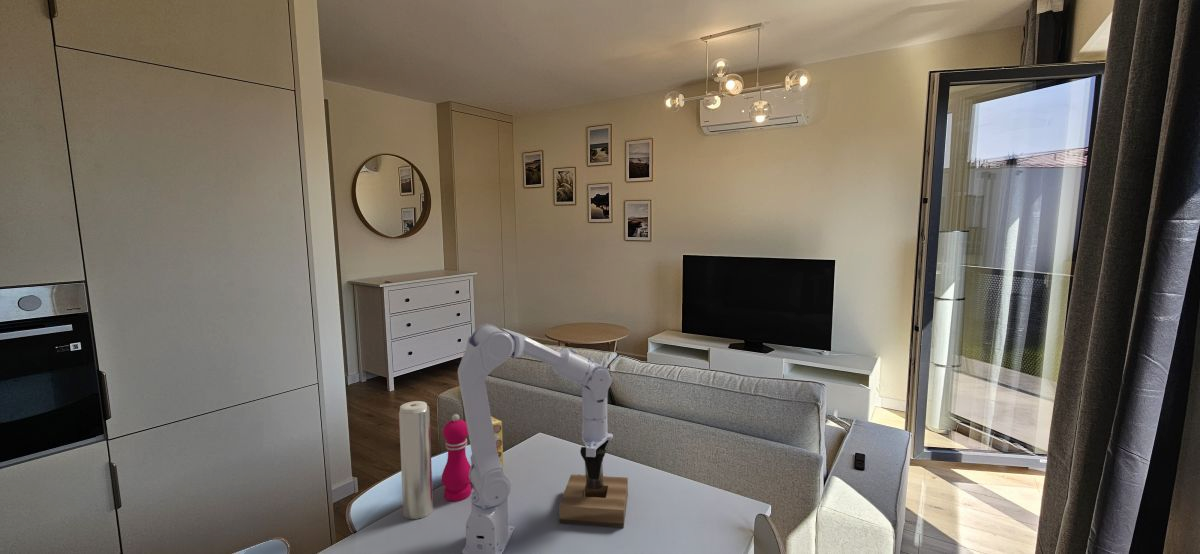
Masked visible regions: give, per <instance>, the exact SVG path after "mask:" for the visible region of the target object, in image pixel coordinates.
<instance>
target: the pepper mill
mask: <svg viewBox="0 0 1200 554" xmlns="http://www.w3.org/2000/svg"><path fill="white" fill-rule="evenodd" d="M442 435H443V438H444V439H445V448H446V449H447V459H446V460H447V461H446V464H445V466H444V468H443V471H442V474H441V483H442V485H443V486H444V490H443V491H444V492H443V493H444V495H443V496H444V498H445V500H447V501H450V502H459V501H462V500H466V499H467V498H468V497H470V496H471V495H472V483H471V481H470V479H469V471H470V468H471V464H470V463H469V461H468V457H467V454H466V453H467V452H466V447H467V446H468V439H467V437H469V434H468V429H467V423H466V420H463V419H460V415H459V414H458V413H455V414H453V415H452V416H451V420H450V421H448V422H447V423H446V424H445V425H444V427H443V430H442Z"/></svg>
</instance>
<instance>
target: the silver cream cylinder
mask: <svg viewBox="0 0 1200 554" xmlns="http://www.w3.org/2000/svg"><path fill="white" fill-rule="evenodd" d="M430 412H431V411H430V405H428V404H427V402H425V401H421V400H420V401H419V400H414V401H409V402H406V403H403V404H401V405H400V406H399V412H398V418H399V421H398V422H399V443H400V445H399V446H400V467H401V469H400V470H401V471H400V472H401V474H400V475H401V492H402V493H401V494H402V495H401V496H402V516H403V517H404V518H405V519H407V520H418V519H419V518H420V519H423V518H426V517H427V516H429V515H430V514H431V513H432V512H433V511H434V500H433V498H434V497H433V475H432V473H433V472H432V446H431V444H432V443H431V417H430V416H431V415H430ZM420 519H419V520H420Z"/></svg>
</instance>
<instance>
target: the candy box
mask: <svg viewBox="0 0 1200 554" xmlns="http://www.w3.org/2000/svg"><path fill="white" fill-rule="evenodd" d="M491 419H492V425H493V430H494V436H495V442H496V448H497V453H498V456H499V459H500V462H501V465H502V468H503V469H504V451H503V450H504V448H503V446H504V444H503V421H501V420H500V419H497V418H496V417H494V416H492V415H491ZM504 472H505V471H503V473H504ZM504 474H505V473H504Z"/></svg>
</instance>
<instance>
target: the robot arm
mask: <svg viewBox="0 0 1200 554" xmlns="http://www.w3.org/2000/svg"><path fill="white" fill-rule="evenodd" d="M523 355H525V356H528V357H530V358H533V359H535V360H537V361H541V362H543V363H545V364H548V365H551V367H552V371H553V372H554V373H555V374H556V375H557V376H561V377H562V378H565V379H567V380H569V381H571V382H574V383H576V384H579V385H581V391H582V392H581V396H582V397H581V403H582V404H581V406H582V407H581V409H582V410H581V412H582V415H581V416H582V417H581V418H582V421H581V423H582V428H581V429H582V430H581V431H582V433H581V440H582V442H583V444H584V446H581V448H580V450H579V453H580V456H581V458H582V459H583V461H584V465H585V464H586V467H587V472H588V476H589V479H597V480H598V479H599V475H600V469H601V463H602V464H603V462H604V457H605V455H606V452H607V449H606V447H607V445H608V443H609V441H612V440H613V437H614V435H613V433H609V432H608V430H609V429H608V424H609V423H608V396H609V388H610V387H611V385H612V384H613V377H612V376H611V372H610V371H609V369H608V368H607V367H605V366H603V365H602V364H599V363H597V362H595V360H594V359H593V358H591V357H588V358H586V357H585V356H583V355H580V354H578V351H577V350H575V349H573V348H569V349H567V348H566V349H561V350H559V351H556V350H554V349H552V348H550V347H548V346H546V345H544V344H542V343H540V342H538V341H536V340H533V339H532V338H530V337H527V336H526V335H525V334H522V333H519V332H516V331H513V330H509V329H507V328H503V327H501V328H498V326H496V325H494V324H490V323H485V324H481V325H480V326H478V327H477V328H476V329H475V330H474V331H473V332H472V333H471V335H469V337H468V338H467V341H466V347H465V350H464V353H463V356H462V357H461V361H460V363H459V365H458V368H457V379H458V383H459V390H460V393H461V400H462V405H463V406H462V407H463V411H464V416H465V422H466V423H467V429H468V439H469V444H470V449H471V455H470V463H471V464H470V466H471V468H470V471H469V479H470V481H471V482H470V484H471V485H472V486H473V487H474V488H473V490H472V492H471V495H470V496H471V497H470V498H471V501H470V502H471V511H470V514H469V516H468V518H467V520H466V523H465V542H466V543H465V546H464V547H463V549H462V551H461V554H503V553H504V551H505V549H506V547H507V545H508V544H509V542H510V540H511V537H512V535H513V533H514V531H515V529H516V528H515V526H514V525H509V511H508V510H509V509H508V497H509V495H510V493H511V482H510V480H509V478H508V477H507V475H505V473H503V472H504V467H503V468H502V465H501V462H500V459H499V456H498V453H497V448H496V442H495V436H494V430H493V425H492V419H491V416H492V414H491V409H490V402H489V397H488V389H487V385H486V379H487V377H488V376H489V375H490V374H491V373H492V371H493V370H494V369H496V368H498V367H499V366H501V365H502V364H503V363H505V362H506V361H507V360H508V359H510V358H511V357H513V358H514V359H515V358H519V357H521V356H523ZM599 448H600V449H599Z"/></svg>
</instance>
